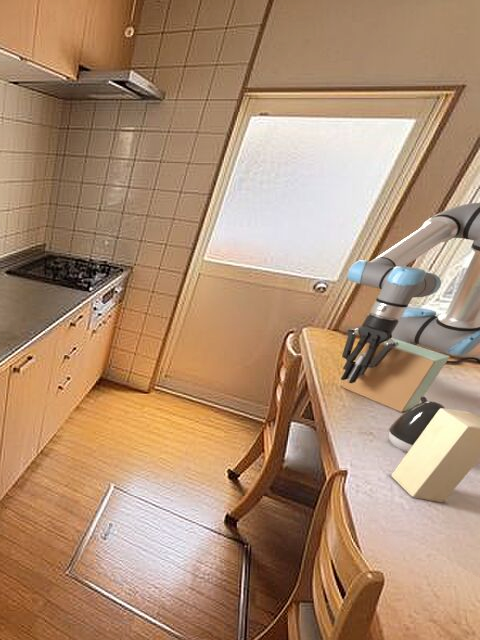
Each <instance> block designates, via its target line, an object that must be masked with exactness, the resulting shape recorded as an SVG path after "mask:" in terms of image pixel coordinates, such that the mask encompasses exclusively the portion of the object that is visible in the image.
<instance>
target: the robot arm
mask: <svg viewBox="0 0 480 640" xmlns="http://www.w3.org/2000/svg"><path fill="white" fill-rule="evenodd" d="M452 239H463V240H470V241H473V242H472V243H471V246H470V249H472V251H473V252H474V254H473V256H472V258H471V260H470V262H469V264H468V266H467V268H466V270H465V272H464V275H463V276H462V278H461V280H460V283H459V285H458V287H457V288H456V290H455V293H454V295H453V297H452V299H451V301H450V304H449V306H448V308H447V309H446V311H445V312H443V313H440V314H438V315H437V312H436V311H435V310H433V309H427V308H422V307H416V306H415V307H414V306H409V304H410V303H411V302H412V299H414V298H424V297H425V298H426V297H428V296H431V295H433V294H435V293H436V292H438V290H439V289H440V288H441V285H442V280H441V278H440V277H439V276H438V275H437V274H435V273H432V272H428V271H427V272H426V271H425V270H424V269H422V268H418V267H413V266H412V267H411V266H407V265H409V264H410V263H412V262H413V261H415V260H416V259H418V258H419V257H421V256H422V255H424V254H426V253H428V252H429V251H430V250H432V249H433V248H435V247H436V246H438V245H439V244H441V243H446V242H449V241H451V240H452ZM347 280H348V281H350V282H352V283H355V284H358V285H362V286H367V287H369V288H375V289H377V290H378V289H379V290H380V291H379V294H378V295H377V297H376V299H375V301H374V303H373V304H372V306H371V308H370V310H369V312H370V313H368V314H367V315H366V317H365V319H364V321H363V322H362V324H361V326H359V327H358V328H350V329H347V338H346V341H345V345H344V349H343V351H342V354H341V357H342V358H344V359H345V360H346V362H345V363H344V366H343V368H342V369H343V370H344V373H343V374H342V376H341V377H340V380H341V381H347V377H348V375H349V374H350V372H351V370H352V368H353V366H354V365H355V363H356V360H357V359H358V357H359V356H360V353H362V351H363V350H364V348H365V347H366V345H367V343H369V344H370V345H369V349H368V351H367V354H366V356H365V358H364V360H363V363H362V365H358V366H357V368H356V370H355V372H354V373H353V375H352V377H351V379H350V381H349V383H354V382H356V380H357V378H358V376H359V375H360V376H361V375H363V374H364V373H365V371H366V370H367V368H368V367H370V368H373V367H376V366H377V365H378V364H379V363H380V362H381V361H382V360H383V358H384V357H385V356H386V355H387V354H388V353H389V352H390V350H391V349H392V348H394V347H396V346H398V343H397V342H394V341H393V340H392V339H391V338H394V339H397V340H400V341H403V342H406V343H409V344H413V345H416V346H418V345H420V346H423V347H427V348H428V349H431V350H435V351H437V352H440V353H441V352H442V353H443V354H447V355H451V356H456V357H459V358H457V360H447V362H446V363H445V364H459V363H461V361H463V360H464V361H467V360H474V361H477V363H480V358H479V357H474V356H467V357H466V355H467V354H469V353H470V352H472V351H473V350H475V348H477V346H479V345H480V202H472V203H466V204H462V205H458V206H455V207H451V208H449V209H446V210H443V211H441V212H439V213H437V214H435V215H433V216H432V217H430V218H428V219H427V220H426V221H425V222H423V224H422V225H421V227H420V228H419V229H417V230H416V231H414V232H413V233H411V234H410V235H408V236H407V237H405V238H403V239H402V240H401V241H399V242H398V243H396V244H395V245H393V246H392V247H390V248H389V249H386V250H385V251H384V252H383V253H381V254H380V255H378V256H377V257H375V258H374V259H372V260H370V261H368V260H357V261H355V262H354V263H352V265H351V266H350V268H349V269H348V272H347ZM357 335H359V340H358V342H357V344H356V345H355V347H354V344H355V341H356V338H357ZM385 341H387V343H386V347H384V348H383V349H382V351H381V352H380V353H379V354H378V355H377V356H376V358H375V359H374V360H373V361H372V359H373V356H374V354H375V352H376V350H377V348H378V347H379V345H380V344H381V343H383V342H385ZM353 348H354V349H353ZM463 356H465V357H463ZM371 361H372V362H371Z"/></svg>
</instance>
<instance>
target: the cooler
mask: <svg viewBox="0 0 480 640" xmlns="http://www.w3.org/2000/svg"><path fill="white" fill-rule="evenodd" d="M391 339H392V340H393V341H394V342H397V343H398V346H396V347H394V348H397V349H401V350H404V351H407V352H410V353H413V354H416V355H419V356H422V357H425V358H428V359H431V360H434V361H435V363H434V364H433V366H432V367H431V369H430V370H429V372H428V374H427V375H426V377H425V378H424V380H423V381H422V383H421V384H420V386H419V387H418V389H417V390H416V392H415V393H414V395H413V396H412V398H411V399H410V401H409V403H408V404H407V406H406V407H405V409H404V410H403V412H406V411H408V410H409V409H411V408H412V407H414V406H416V405H418V404H420V403H421V399H420V398H421V397H425V394H426V393H427V392H428V390H429V389H430V388H431V386H432V384H433V383H434V381H435V380H436V378H437V377H438V375H439V374H440V372H441V371H442V370H443V368H444V366H446V364H447V363H446V362H447V361H449V359H450V358H451V356H450V355H449V354H445V353H441V352H439V351H436V350H435V351H434V350H433V349H429V348H425V347H421V346H419V345H413V344H409V343H406V342H403V341H400V340H397V339H394V338H391ZM386 343H387V341H385V342H383V343H382V344H385V345H386Z"/></svg>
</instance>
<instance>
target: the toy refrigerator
mask: <svg viewBox="0 0 480 640" xmlns="http://www.w3.org/2000/svg"><path fill="white" fill-rule="evenodd" d="M479 460H480V417H479V416H477V415H476V414H474V413H472V412H470V411H463V410H457V409H450V408H445V409H444V408H440V409H439V410H438V412H437V413H436V414H435V416H434V417H433V419H432V420H431V421H430V423H429V424H428V425H427V427H426V428H425V430H424V431H423V432H422V434H421V435H420V436H419V438H418V439H417V441H416V442H415V443H414V445H413V446H412V447H411V449H410V450H409V452H406V454H405V456H404V457H403V458H402V460H401V461H400V462H399V464H398V465H397V466H396V468H395V469H394V470H393V472H392V473H391V475H390V476H391V477H392V479H393V480H394V481H395V482H396V483H398V485H400V486H401V487H402V488H403V490H405V491H406V492H407V493H408V495H410V496H411V497H412V498H414V499H421V500H427V501H433V502H438V503H444V502H445V501H446V500H447V498H448V497H450V495H451V494H452V493H453V492H454V490H455V489H456V488H457V486H458V485H459V484H460V483H461V482H462V481H463V480H464V478H465V477H466V476H467V475H468V473H469V472H470V471H471V470H472V468H474V466H475V465H476V464H477V462H478V461H479Z"/></svg>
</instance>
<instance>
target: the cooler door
mask: <svg viewBox="0 0 480 640" xmlns="http://www.w3.org/2000/svg"><path fill="white" fill-rule="evenodd" d="M369 345H370V344H369V343H367V344H366V345H365V346H364V348H363V349H362V351H361V354H359V355H358V356H357V358H356V360H355V362H356V363H355V365H354V366H353V368H352V370H351V372H350V374H349V375H348V377H347V379H346V380H345V383H344V384H343V386H342V388H343V389H346V390H347V391H350V392H353V393H355V394H357V395H360V396H362V397H364V398H367V399H369V400H372V401H374V402H377V403H379V404H382V405H383V406H385V407H389V408H391V409H393V410H395V411H398V412H400V413H402V412H404V411H403V410H404V409H405V407H406V406H407V404H408V403H409V401H410V399H411V398H412V396H413V395H414V393H415V392H416V390H417V389H418V387H419V386H420V384H421V383H422V381H423V380H424V378H425V377H426V375H427V374H428V372H429V370H430V369H431V367H432V366H433V364H434V363H435V361H434V360H431V359H428V358H425V357H422V356H419V355H416V354H413V353H410V352H407V351H404V350H401V349H397V348H392V349H391V350H390V352H389V353H388V354H387V355H386V356H385V357H384V358H383V360H382V361H381V362H380V363H379V364H378V365H377V366H376V367H373V368H370V367H368V368H367V370H366V371H365V373H364V374H363V375H361V376H360V375H359V376H358V378H357V380H356V382H354V383H349V381H350V379H351V377H352V375H353V373H354V372H355V370H356V368H357V366H358V365H362V363H363V360H364V358H365V356H366V354H367V351H368V349H369ZM384 347H386V345H385V344H382V343H381V344H380V345H379V347H378V348H377V350H376V352H375V354H374V356H373V359H372V361H373V360H374V359H375V358H376V356H377V355H378V354H379V353H380V352H381V351H382V349H383V348H384ZM372 361H371V362H372Z"/></svg>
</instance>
